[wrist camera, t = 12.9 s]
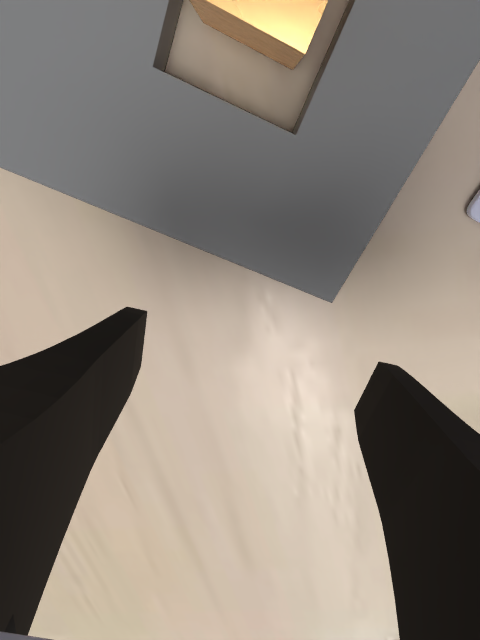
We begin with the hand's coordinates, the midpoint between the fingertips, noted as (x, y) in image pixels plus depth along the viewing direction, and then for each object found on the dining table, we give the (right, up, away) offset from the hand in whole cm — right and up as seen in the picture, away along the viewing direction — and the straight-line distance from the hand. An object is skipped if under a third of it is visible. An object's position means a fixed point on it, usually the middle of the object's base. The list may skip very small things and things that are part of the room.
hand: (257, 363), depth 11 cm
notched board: (-1, +12, +4) cm, 13 cm away
